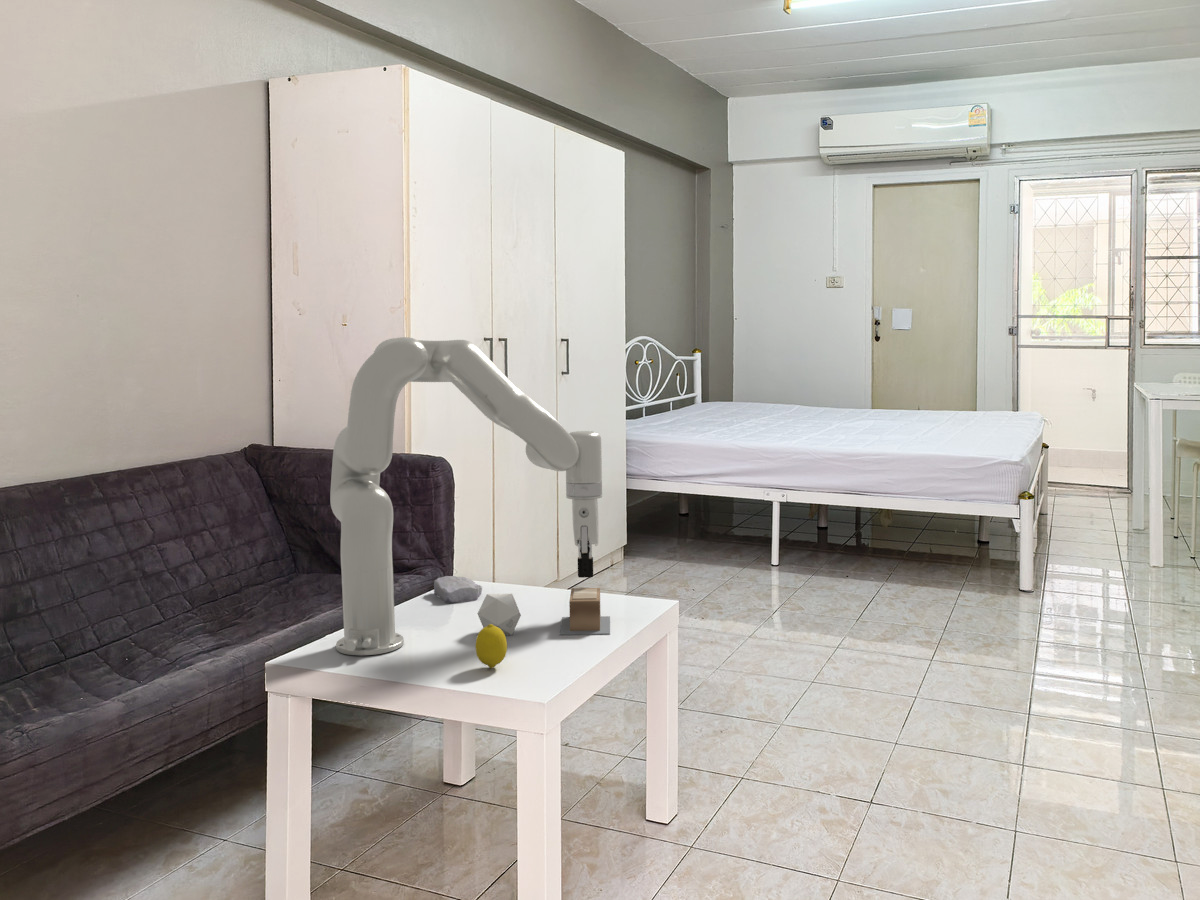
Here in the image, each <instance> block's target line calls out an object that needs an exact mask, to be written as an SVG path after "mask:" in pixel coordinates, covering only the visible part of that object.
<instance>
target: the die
mask: <svg viewBox="0 0 1200 900" xmlns="http://www.w3.org/2000/svg"><path fill="white" fill-rule="evenodd" d="M479 607H480V608H479V610H478V612H477V615H478V619H479V621H480V623H481V626H482V627H483V628H484V627H487V626H488V625H489V624H493V625H494V626H496V627H498V628H500V629H501V630H502V631H503V633H504V635H505V636H513V634H514V631H515V629H516V627H517V625H518V623H519V621H520V618H521V616H522V615H521V612H520V610H519V609H520V608H519V607H518V604H517V602H516V600H515V597H514V594H513V593H487V594H486V595H485V597H484V600H482V603H481V605H480V606H479ZM483 628H482V629H483Z"/></svg>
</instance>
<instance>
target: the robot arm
mask: <svg viewBox="0 0 1200 900" xmlns="http://www.w3.org/2000/svg"><path fill="white" fill-rule="evenodd" d="M408 383H452V384H453V386H455V388H457V389H458V390H459V391H460V392H461V394H463V395H464V396H465V397H466V399H468V400H469V401H470V402H471V403H472V404H473V405H474V406H475V408H477V410H478V411H480V412H481V413H482V415H484V416H485V417H486V418H487V419H489V420H490V421H491V422H493V423H494V424H496V425H497V426H499V427H501V428H504V429H505V430H507V431H510V432H511V433H513V434H514V435H515V436H517V438H518V437H519V438H520V439H521V440H522V441H523V442H525V443H526V444H525V454H526V457H527V459H528V460H529V461H530V463H531V464H533V465H534V466H536V467H540V468H543V469H545V470H546V469H547V470H551V471H554V472H555V471H556V472H565V482H566V483H565V491H566V493H565V494H566V496H565V497H566V499H569V500H571V505H572V506H571V508H572V509H571V510H572V512H571V513H572V530H573V539H574V540H573V541H574V546H576V547H577V549H578V556H577V577H578V578H593V577H594V557H593V552H592V551H593V550H592V549H593V548H592V547H593V545H594V547H597V546H599V505H598V503H599V502H598V499H602V497H603V482H602V481H603V474H602V473H603V472H602V436H601V434H600V433H598V431H593V430H591V431H590V430H578V431H577V430H576V431H570V432H569V431H567V429H565V428H564V426H563V425H562V424H561V423H560V422H559V421H558V420H557V419H556V418H555V417H554V416H552V414H550V412H548V411H547V410H546V409H545V408H543V406H541V405H539V403H537V402H536V401H534V400H533V399H532V398H531V397H530V396H528V394H526V393H525V392H524V391H522V390H521V389H520V388H518V386H516V385H515V384H514V383H513V382H512V381H511V380H510V378H509V377H507V376H506V374H505V373H504V372H502V370H501V369H500V368H498V366H497V365H496V364H495V363H494V362H493V361H492V360H491V359H490V358H489V357H488V356H487V355H486V354H485V353H484V352H483V351H482V350H481V349H480V347H478V346H477V345H476V344H474V343H473V342H472V341H470V340H466V339H451V340H419V339H415V338H413V337H409V336H408V337H407V336H406V337H405V336H403V337H394V338H388V339H386V340H383V341H382V342H381V343H379V344H378V345H377V346H376V347H375V350H374V351H373V353H372V354H371V355H370V356H369V357H368V358H367V359H366V360H365V361H364V363H363V364H362V365H361V366H360V368H359V370H358V372H357V373H356V375H355V377H354V380H353V383H352V387H351V390H350V399H349V407H348V414H347V415H348V416H347V425H346V427H344V428H343V429H342V430H341V431H340V432H339V434H338V435H337V437H336V439H335V441H334V445H333V451H332V452H333V453H332V460H331V461H332V463H331V465H332V466H331V475H330V477H331V478H330V479H331V480H330V491H329V492H330V494H329V495H330V499H329V500H330V508H331V510H332V513H333V515H334V517H336V519H337V520H338V521H339V522H340V569H341V589H342V590H341V591H342V592H341V593H342V615H343V635H344V636H343V637H342V638H339V639H338V640H337V641H336V644H335V646H336V650H337V651H338V652H339V653H341V654H343V655H349V656H374V655H380V654H386V653H389V652H393V651H396V650H398V649H399V648H401V647H403V645H404V643H405V642H404V641H405V640H404V636H403V635H402V634H400V633H397V632H396V622H395V621H396V620H395V597H394V596H395V595H394V593H395V592H394V589H395V588H394V564H393V528H394V507H393V503H392V500H391V498H390V496H389V495H388V493H387V492H386V490H384V488H382V487H381V486H380V484H381V483H380V481H381V473H383V472H384V471H385V470H386V469H387V468H388V467H389V465H390V464H391V462H392V459H393V451H394V450H393V448H394V429H395V417H396V408H397V402H398V398H399V396H400V394H401V391H402V390H403V389H404V387H405V386H406V385H407V384H408Z"/></svg>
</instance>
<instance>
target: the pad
mask: <svg viewBox="0 0 1200 900" xmlns="http://www.w3.org/2000/svg"><path fill="white" fill-rule="evenodd" d="M560 623H561V624H560V629H559V636H581V635H582V636H583V635H587V636H588V635H592V636H593V635H594V636H595V635H599V636H600V635H611V616H608V615H607V616H606V615H605V616H600V631H570V616H562V618H561V622H560Z"/></svg>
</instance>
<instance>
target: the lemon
mask: <svg viewBox="0 0 1200 900" xmlns="http://www.w3.org/2000/svg"><path fill="white" fill-rule="evenodd" d="M507 650H508V642H507V637H506V635H504V633H503V631H502V630H501V629H500V628H498V627H496V626H494V625H493V624H489V625H488V626H487V627H484V628H481V630H479V632H478V634H477V636H476V638H475V654H476V656H477V658H478V660H479V662H481V664H483V665H485V666H487V667H489V669H494V668H495V667H496V666H497V665H499V664H500V663H502V662H503V661H504V660H505V658H506V655H507Z"/></svg>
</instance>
